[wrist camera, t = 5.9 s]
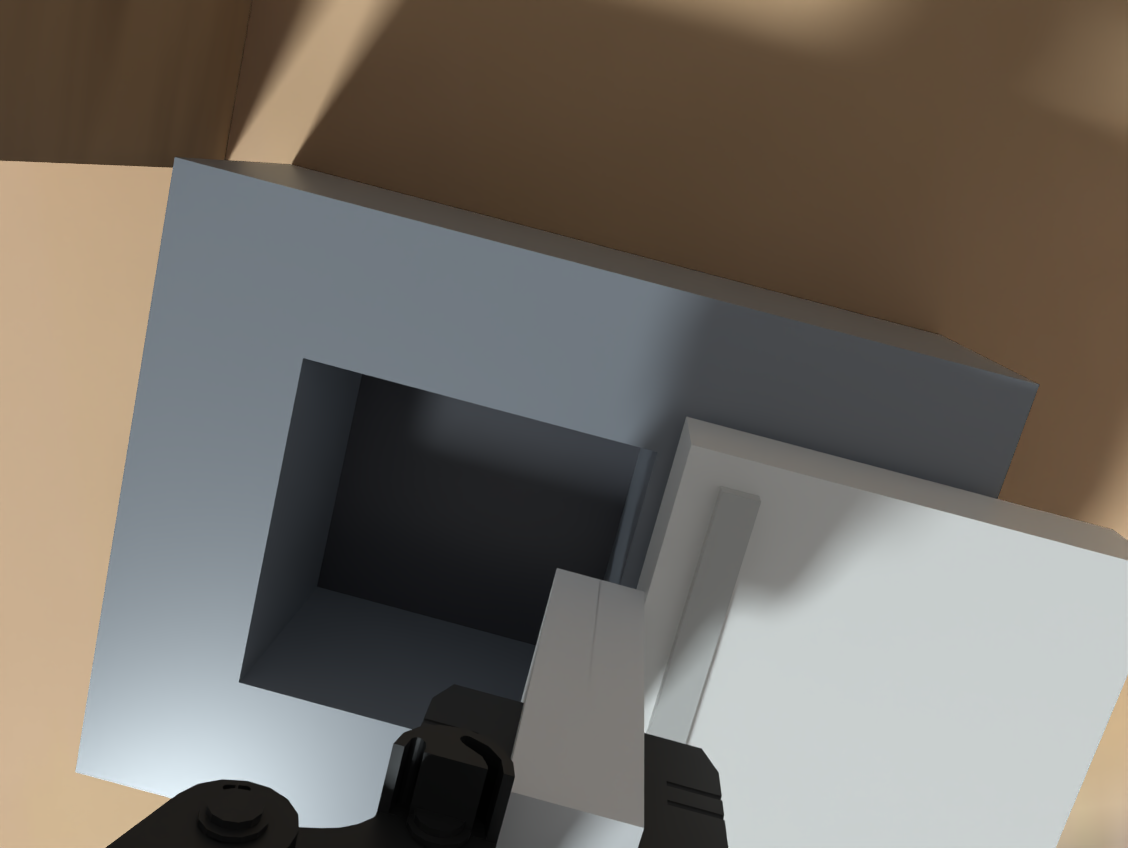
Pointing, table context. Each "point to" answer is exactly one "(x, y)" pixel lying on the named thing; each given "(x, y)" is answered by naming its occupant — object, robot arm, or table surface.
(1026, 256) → the table surface
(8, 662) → the table surface
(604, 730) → the robot arm
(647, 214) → the table surface
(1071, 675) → the lid
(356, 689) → the socket block
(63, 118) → the plug
